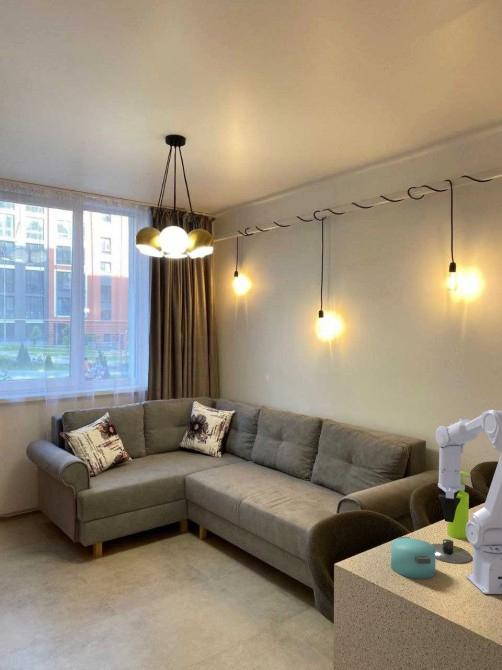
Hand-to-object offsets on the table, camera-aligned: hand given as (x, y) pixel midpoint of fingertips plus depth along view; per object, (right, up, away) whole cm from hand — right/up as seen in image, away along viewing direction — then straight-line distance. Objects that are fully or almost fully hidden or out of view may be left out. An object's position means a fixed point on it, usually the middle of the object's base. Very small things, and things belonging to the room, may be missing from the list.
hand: (448, 517), depth 142 cm
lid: (0, -11, 0) cm, 11 cm away
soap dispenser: (+9, -11, +14) cm, 20 cm away
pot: (-14, -10, -11) cm, 20 cm away
